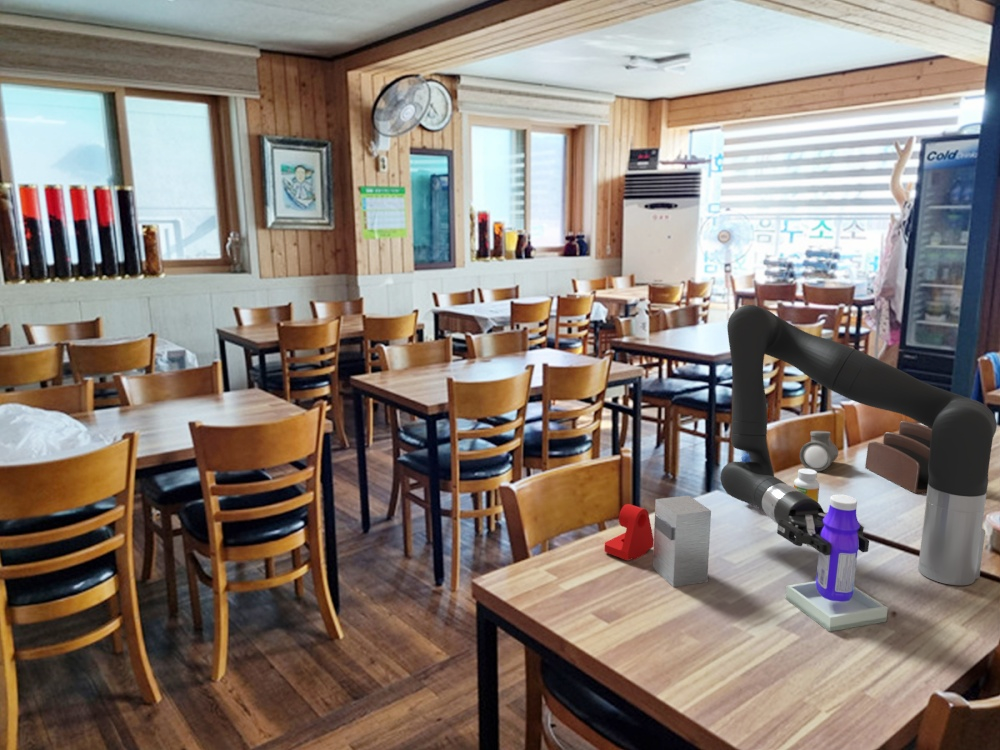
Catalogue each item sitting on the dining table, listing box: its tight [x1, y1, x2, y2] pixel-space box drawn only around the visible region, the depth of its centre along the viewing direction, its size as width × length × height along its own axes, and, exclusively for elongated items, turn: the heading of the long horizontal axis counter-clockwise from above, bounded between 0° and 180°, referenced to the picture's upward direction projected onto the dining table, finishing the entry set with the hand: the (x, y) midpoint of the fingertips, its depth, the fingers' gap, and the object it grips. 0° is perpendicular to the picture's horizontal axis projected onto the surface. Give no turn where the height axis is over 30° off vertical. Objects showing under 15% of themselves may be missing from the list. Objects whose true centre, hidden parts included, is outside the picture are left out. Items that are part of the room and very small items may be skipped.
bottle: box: [815, 493, 861, 602], centre depth 124 cm, size 7×6×17 cm
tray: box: [785, 580, 888, 633], centre depth 126 cm, size 11×11×2 cm
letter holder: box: [864, 420, 932, 495], centre depth 189 cm, size 10×20×14 cm, turn 8°
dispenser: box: [652, 494, 712, 588], centre depth 138 cm, size 8×8×14 cm
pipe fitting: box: [799, 430, 839, 473], centre depth 200 cm, size 12×8×10 cm
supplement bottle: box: [793, 468, 820, 503], centre depth 168 cm, size 5×5×10 cm
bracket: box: [603, 503, 654, 562], centre depth 148 cm, size 9×6×10 cm
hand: (847, 548), depth 122 cm, fingers closed on bottle, 6 cm apart
